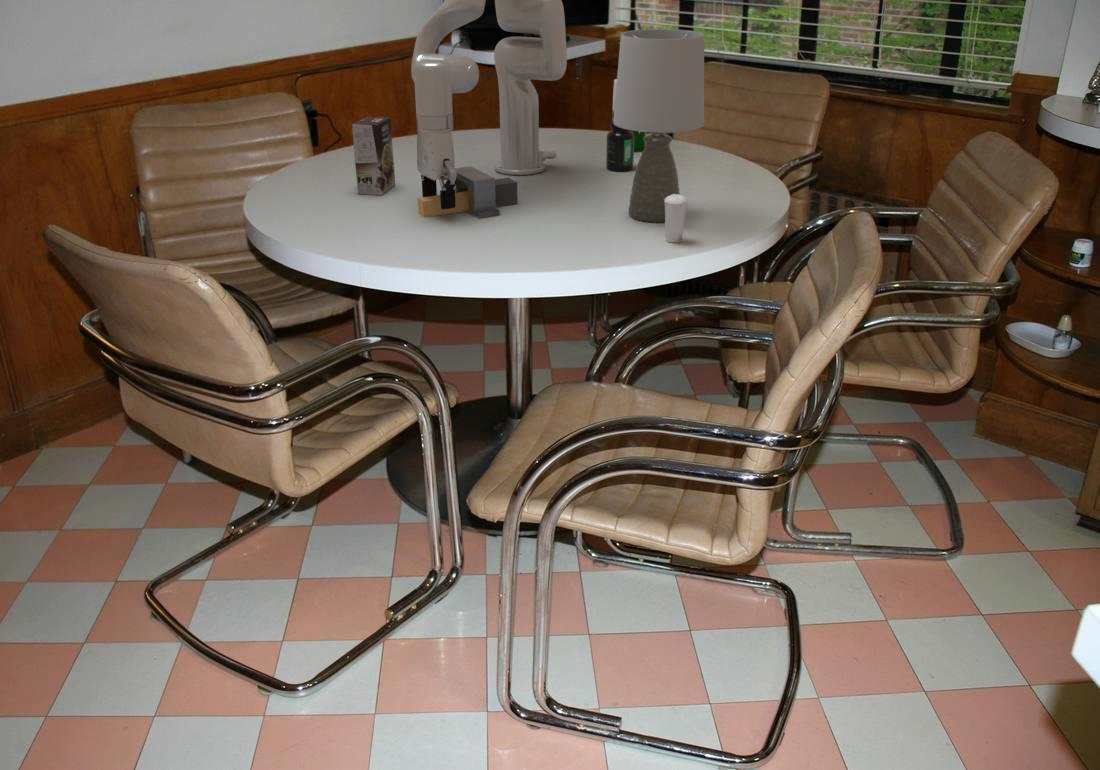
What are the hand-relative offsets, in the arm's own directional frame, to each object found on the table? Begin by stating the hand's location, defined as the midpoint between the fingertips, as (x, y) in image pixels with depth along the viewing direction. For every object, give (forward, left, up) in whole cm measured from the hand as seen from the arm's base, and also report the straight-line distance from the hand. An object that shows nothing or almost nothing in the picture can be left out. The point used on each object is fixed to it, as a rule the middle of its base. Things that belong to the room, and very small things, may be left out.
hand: (438, 202), depth 213 cm
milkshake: (-32, +41, -3) cm, 52 cm away
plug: (-7, 0, -2) cm, 7 cm away
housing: (-8, 0, -2) cm, 8 cm away
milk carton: (-69, -30, -3) cm, 76 cm away
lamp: (-39, +25, -3) cm, 46 cm away
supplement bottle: (-55, -13, -3) cm, 57 cm away
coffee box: (+5, -25, -3) cm, 26 cm away
